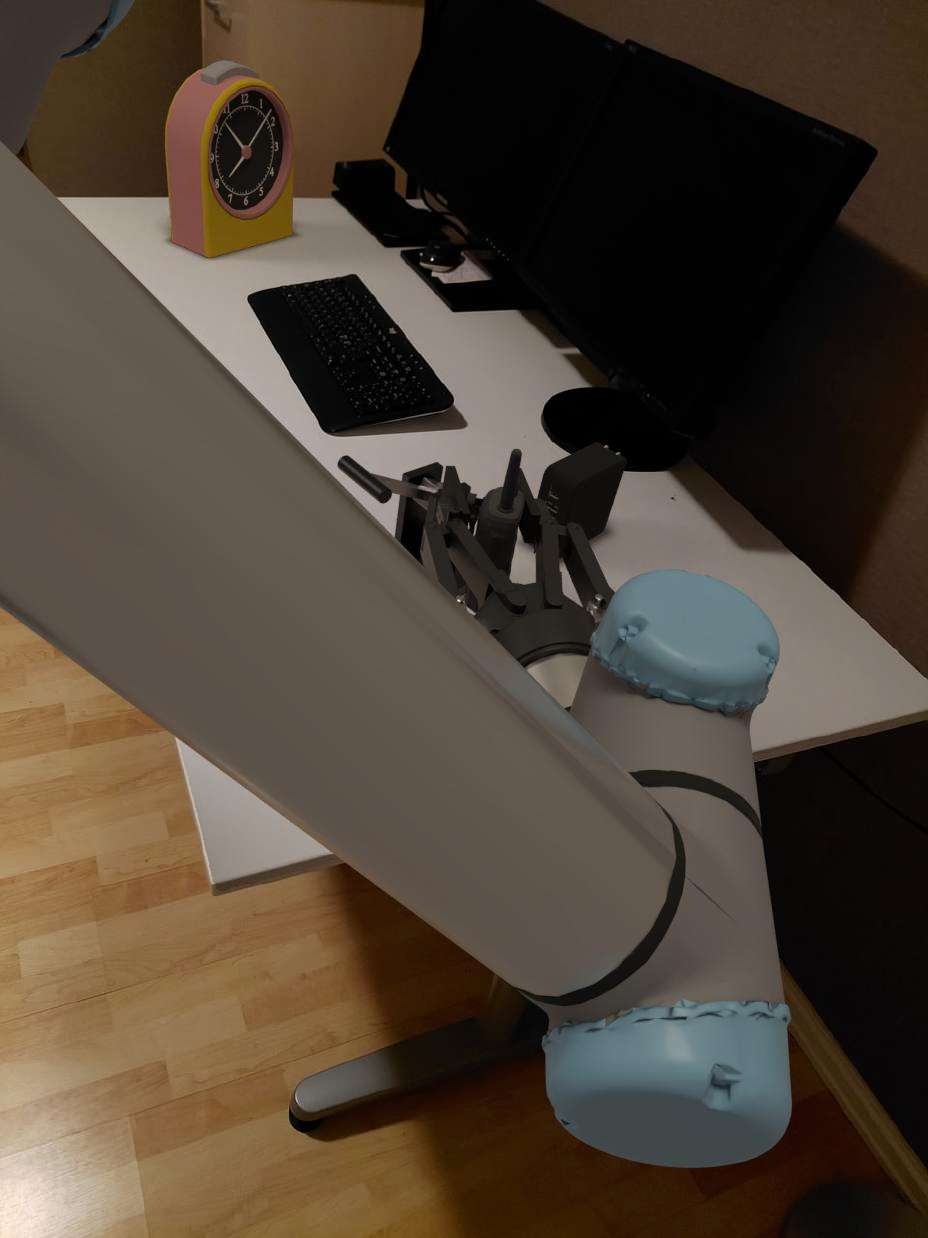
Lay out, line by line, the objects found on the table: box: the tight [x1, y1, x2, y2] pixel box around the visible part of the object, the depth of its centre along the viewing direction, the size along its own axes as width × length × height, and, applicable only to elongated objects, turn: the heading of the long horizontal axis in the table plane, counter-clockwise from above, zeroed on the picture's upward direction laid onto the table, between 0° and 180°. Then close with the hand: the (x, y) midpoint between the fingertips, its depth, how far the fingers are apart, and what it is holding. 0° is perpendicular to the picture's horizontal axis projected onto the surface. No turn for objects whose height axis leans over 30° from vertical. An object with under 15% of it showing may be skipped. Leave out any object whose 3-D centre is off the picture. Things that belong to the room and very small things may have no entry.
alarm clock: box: [164, 59, 295, 258], centre depth 140 cm, size 21×9×26 cm, turn 147°
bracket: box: [394, 461, 472, 596], centre depth 83 cm, size 12×9×12 cm
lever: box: [336, 454, 443, 510], centre depth 77 cm, size 12×6×2 cm, turn 132°
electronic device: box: [532, 441, 628, 558], centre depth 93 cm, size 4×10×10 cm, turn 137°
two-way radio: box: [463, 448, 525, 614], centre depth 65 cm, size 6×4×15 cm
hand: (481, 481), depth 69 cm, fingers closed on two-way radio, 5 cm apart
